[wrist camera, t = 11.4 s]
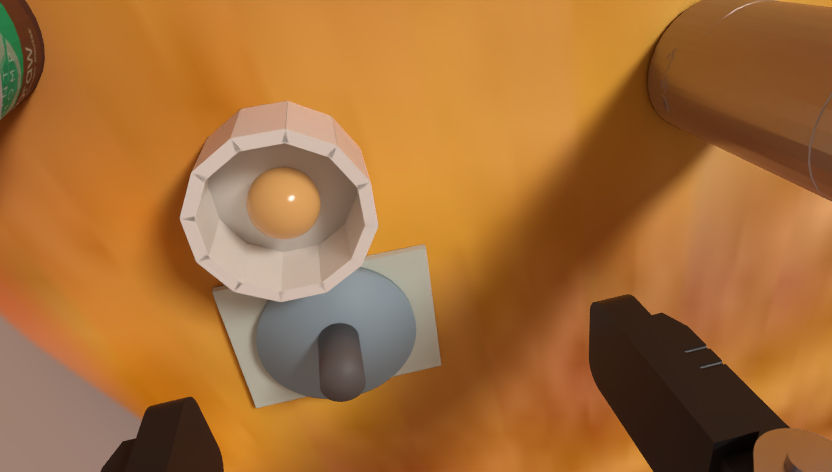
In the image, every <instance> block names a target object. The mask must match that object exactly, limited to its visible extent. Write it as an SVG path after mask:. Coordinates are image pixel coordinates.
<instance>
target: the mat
mask: <svg viewBox="0 0 832 472" xmlns="http://www.w3.org/2000/svg"><path fill="white" fill-rule="evenodd" d="M360 267H363V268H367V269H370V270H373V271H375V272H378V273H380V274H382V275H384V276H385V277H387V278H389V279H390V280H392V281H393V282H394V283H395V284H396V285H397V286H398V287H399V288H400V289H401V290H402V291H403V292H404V294H405V295H406V297H407V298H408V300H409V302H410V305H411V307H412V310H413V314H414V317H415V321H416V339H415V343H414V347H413V349H412V352H411V354H410V356H409V358H408V359H407V361H406V362H405V364H404V365H403V366H402V368H401V369H400V370H399V371H398V372H397V373H396V374H395V375H394V376H398V375H402V374H407V373H411V372H415V371H420V370H424V369H428V368H433V367H437V366H441V358H440V350H439V343H438V335H437V328H436V320H435V313H434V305H433V298H432V290H431V283H430V275H429V268H428V260H427V252H426V247H425V245H424V244H423V245H418V246H413V247H409V248H404V249H399V250H394V251H389V252H384V253H379V254H374V255H370V256H366V257H365V259H364V262H363V264H362V266H360ZM212 293H213V296H214V299H215V301H216V304H217V306H218V309H219V312H220V314H221V317H222V320H223V322H224V325H225V327H226V330H227V333H228V335H229V338H230V340H231V343H232V346H233V348H234V351H235V354H236V356H237V359H238V361H239V364H240V367H241V369H242V372H243V375H244V377H245V380H246V382H247V385H248V388H249V390H250V393H251V396H252V398H253V401H254V403H255V406H256V408H260V407H264V406H268V405H272V404H277V403H281V402H285V401H290V400H294V399H298V398H303V397H307V396H304V395H301V394H298V393H296V392H293V391H291V390H289V389H287V388H285V387H284V386H282V385H281V384H279V383H278V382H277V381H276V380H274V379H273V378H272V377H271V376H270V375H269V373H268V372H267V371H266V369H265V368H264V366H263V365H262V363H261V361H260V358H259V355H258V352H257V345H256V336H257V326H258V321H259V317H260V314H261V312H262V310H263V307H264V306H265V304H266V303H267V301H268V299H264V298H259V297H255V296H250V295H246V294H241V293H237V292H233V291H232V290H231V289H230V288H228V287H227V286H226V285H224V286H219V287H214V288H213V291H212ZM394 376H393V377H394Z"/></svg>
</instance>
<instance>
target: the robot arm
mask: <svg viewBox="0 0 832 472" xmlns="http://www.w3.org/2000/svg"><path fill="white" fill-rule="evenodd" d="M648 92H649V96H650V101H651V103H652V105H653V107H654V109H655V111H656V112H657V113H658V114H659V115H660V116H661V118H662V119H664V120H665V121H667V122H669V123H670V124H672V125H674V126H676V127H678V128H680V129H682V130H684V131H686V132H688V133H691V134H693V135H695V136H697V137H699V138H701V139H703V140H705V141H707V142H709V143H711V144H713V145H715V146H717V147H719V148H721V149H723V150H725V151H727V152H730V153H732V154H734V155H736V156H738V157H740V158H742V159H744V160H746V161H748V162H750V163H752V164H755V165H757V166H759V167H761V168H763V169H765V170H767V171H769V172H771V173H773V174H775V175H778V176H780V177H782V178H784V179H786V180H788V181H790V182H792V183H794V184H796V185H798V186H800V187H803V188H805V189H807V190H809V191H811V192H813V193H815V194H817V195H819V196H821V197H823V198H826V199H828V200H830V201H832V7H824V6H815V5H807V4H798V3H790V2H781V1H775V0H703V1H700V2H698V3H696V4H694V5H693V6H691V7H690V8H688V9H687V10H685V11H684V12H683V13H682V14H681V15H680V16H678V17H677V18H676V19H675V20H674V21H673V22H672V24H671V25H670V26H669V27H668V29H667V30H666V31H665V32H664V34H663V35H662V37H661V39H660V41H659V42H658V44H657V46H656V48H655V51H654V53H653V56H652V59H651V61H650V67H649V72H648ZM589 364H590V369H591V372H592V376H593V378H594V381H595V383H596V385H597V387H598V389H599V390H600V392H601V393H602V395H603V396H604V398H605V399H606V401H607V402H608V404H609V405H610V407H611V408H612V410H613V411H614V413H615V414H616V416H617V417H618V419H619V420H620V422H621V423H622V425H623V426H624V428H625V429H626V431H627V432H628V434H629V435H630V437H631V438H632V440H633V441H634V443H635V444H636V446H637V447H638V449H639V451H640V452H641V454H642V455H643V457H644V458H645V460H646V461H647V463H648V464H649V466H650V467H651V469H652V470H653V472H832V441H831V440H829V439H827V438H825V437H823V436H820V435H818V434H815V433H812V432H809V431H805V430H800V429H793V428H790V427H789V426H788V425H786V424H785V423H784V422H783V421H782V420H781V419H780V418H779V417H778V416H777V415H776V414H775V413H774V412H773V411H772V410H771V409H770V408H769V407H768V406H767V405H766V404H765V403H764V402H763V401H762V400H761V399H760V398H759V397H758V396H757V395H756V394H755V393H754V392H753V391H752V390H751V389H750V388H749V387H748V386H747V385H746V384H745V383H744V382H743V381H742V380H741V379H740V378H739V377H738V376H737V375H736V374H735V373H734V372H733V371H732V370H731V369H730V368H729V367H728V366H727V365H726V364H724V365H723V363H722V360H721V359H720V358H719V357H718V356H717V355H716V354H715V353H714V352H713V351H712V350H711V349H707V347H706V344H705V343H704V342H703V341H702V340H701V339H700V338H699V337H698V336H697V335H696V334H695V333H694V332H693V331H692V330H691V329H690V328H689V327H688V326H686V325H684V324H682V323H681V322H679V321H677V320H675V319H673V318H671V317H669V316H667V315H665V314H664V313H659V314H655V315H651V314H650V313H649V312H648V311H647V310H646V309H645V308H644V307H643V306H642V305H641V303H640V302H639V301H638V300H637V299H636V298H635V297H634V296H632V295H629V294H627V295H623V296H618V297H614V298H610V299H606V300H601V301H597V302H594V303H592V305H591V308H590V332H589ZM101 472H224V469H223V461H222V456H221V452H220V449H219V447H218V445H217V443H216V441H215V439H214V436H213V434H212V432H211V430H210V428H209V426H208V424H207V422H206V420H205V418H204V416H203V414H202V412H201V410H200V408H199V406H198V404H197V402H196V401H195V399H194V398H192V397H186V398H182V399H178V400H174V401H169V402H165V403H161V404H157V405H153V406H150V407H148V408H147V410H146V411H145V414H144V417H143V420H142V422H141V426H140V428H139V431H138V434H137V437H136V439H132V440H127V441H123V442H122V443H121V445H120V446H119V447H118V448H117V450H116V451H115V452H114V454H113V455H112V456H111V457H110V459H109V460H108V461H107V463H106V464H105V465H104V466H103V468H102V470H101Z"/></svg>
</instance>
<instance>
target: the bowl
mask: <svg viewBox="0 0 832 472" xmlns="http://www.w3.org/2000/svg"><path fill="white" fill-rule="evenodd" d="M180 221H181V224H182V226H183V229H184V232H185V234H186V237H187V239H188V242H189V244H190V247H191V250H192V252H193V255H194V257H195V260H196V262H197V263H198V264H199V265H200V266H202V267H203V268H204V269H206V270H207V271H208V272H209V273H211V274H212V275H213V276H214V277H216V278H217V279H218V280H219V281H221V282H222V283H223V284H225V285H226V286H227V287H228V288H230V289H231V290H232V291H233V292H237V293H241V294H246V295H250V296H255V297H259V298H264V299H269V300H273V301H278V302H284V301H289V300H294V299H299V298H303V297H308V296H313V295H318V294H322V293H326V292H328V291H329V290H331V289H332V288H333V287H335V286H336V285H337V284H338V283H340V282H341V281H342V280H344V279H345V278H346V277H348V276H349V275H350V274H351V273H353V272H354V271H355V270H357V269H358V268H359V267H360V266H362V264H363V262H364V259H365V257H366V254H367V252H368V250H369V247H370V245H371V242H372V240H373V238H374V235H375V233H376V230H377V228H378V221H377V215H376V210H375V204H374V199H373V193H372V187H371V182H370V179H369V176H368V172H367V169H366V166H365V162H364V159H363V156H362V153H361V149H360V148H359V147H358V145H357V144H356V143H355V142H354V141H353V140H352V139H351V138H350V136H349V135H348V134H347V133H346V132H345V131H344V130H343V129H342V127H341V126H340V125H339V124H338V123H337V122H336V121H335V120H334V118H333V117H331V116H329V115H327V114H324V113H321V112H318V111H315V110H312V109H309V108H306V107H304V106H301V105H298V104H295V103H292V102H289V101H288V102H287V101H284V102H278V103H272V104H266V105H260V106H255V107H249V108H243V109H240V110H239V111H238V112H237V113H236V114H234V115H233V116H232V117H231V118H230V119H229V120H228V121H226V122H225V123H224V124H223V125H222V126H221V127H220V128H218V129H217V130H216V131H215V132H214V133H213V134H212V135H210V136H209V137H208V138H207V140H206V142H205V144H204V146H203V149H202V151H201V153H200V155H199V157H198V159H197V161H196V163H195V166H194V168H193V170H192V172H191V175H190V179H189V183H188V187H187V191H186V195H185V199H184V203H183V207H182V211H181V215H180Z"/></svg>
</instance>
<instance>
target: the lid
mask: <svg viewBox="0 0 832 472" xmlns="http://www.w3.org/2000/svg"><path fill="white" fill-rule="evenodd" d="M415 339H416V321H415V317H414V314H413V310H412V307H411V305H410V302H409V300H408V298H407V297H406V295H405V294H404V292H403V291H402V290H401V289H400V288H399V287H398V286H397V285H396V284H395V283H394V282H393V281H392V280H390V279H389V278H387V277H385V276H384V275H382V274H380V273H378V272H375V271H373V270H370V269H367V268H363V267H359V268H358V269H357V270H355V271H354V272H353V273H351V274H350V275H349V276H348V277H346V278H345V279H344V280H342V281H341V282H340V283H338V284H337V285H336V286H335V287H333V288H332V289H331V290H329V291H328V292H326V293H322V294H318V295H313V296H308V297H303V298H299V299H294V300H289V301H284V302H278V301H273V300H269V299H268V301H267V303H266V304H265V306H264V307H263V310H262V312H261V314H260V317H259V321H258V326H257V336H256V345H257V352H258V355H259V358H260V361H261V363H262V365H263V366H264V368H265V369H266V371H267V372H268V373H269V375H270V376H271V377H272V378H273V379H274V380H276V381H277V382H278V383H279V384H281V385H282V386H284V387H285V388H287V389H289V390H291V391H293V392H296V393H298V394H301V395H304V396H309V397H314V398H322V399H330V400H332V401H338V402H343V401H349V400H352V399H354V398H356V397H357V396H359V395H360V394H362V393H365V392H367V391H370V390H372V389H374V388H376V387H378V386H380V385H381V384H383V383H385V382H386V381H388V380H389V379H390V378H391V377H393V376H394V375H395V374H396V373H397V372H398V371H399V370H400V369H401V368H402V366H403V365H404V364H405V362H406V361H407V359H408V358H409V356H410V354H411V352H412V349H413V347H414V343H415Z"/></svg>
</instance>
